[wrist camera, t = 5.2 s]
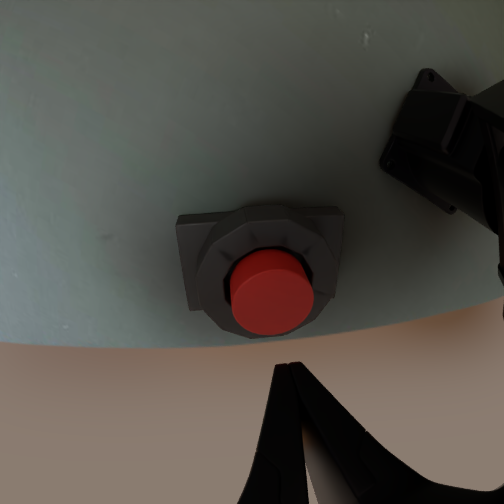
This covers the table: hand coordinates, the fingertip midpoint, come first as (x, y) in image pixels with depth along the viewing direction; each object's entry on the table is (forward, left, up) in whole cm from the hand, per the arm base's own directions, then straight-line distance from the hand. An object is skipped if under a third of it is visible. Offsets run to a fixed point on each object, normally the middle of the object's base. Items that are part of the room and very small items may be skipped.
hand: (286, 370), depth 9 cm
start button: (0, 0, -5) cm, 5 cm away
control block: (0, 0, -8) cm, 8 cm away
